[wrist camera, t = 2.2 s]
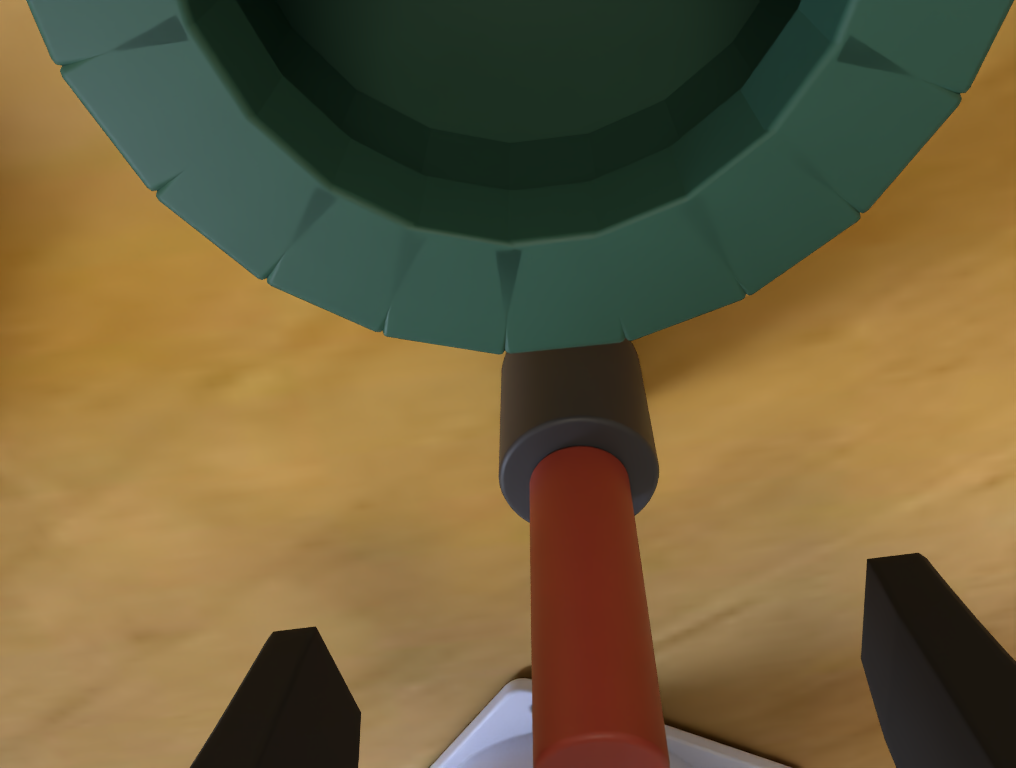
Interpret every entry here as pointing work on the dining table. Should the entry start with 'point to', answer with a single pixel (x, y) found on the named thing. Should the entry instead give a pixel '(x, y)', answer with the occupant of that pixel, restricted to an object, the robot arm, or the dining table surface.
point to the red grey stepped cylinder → (585, 551)
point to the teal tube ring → (519, 144)
